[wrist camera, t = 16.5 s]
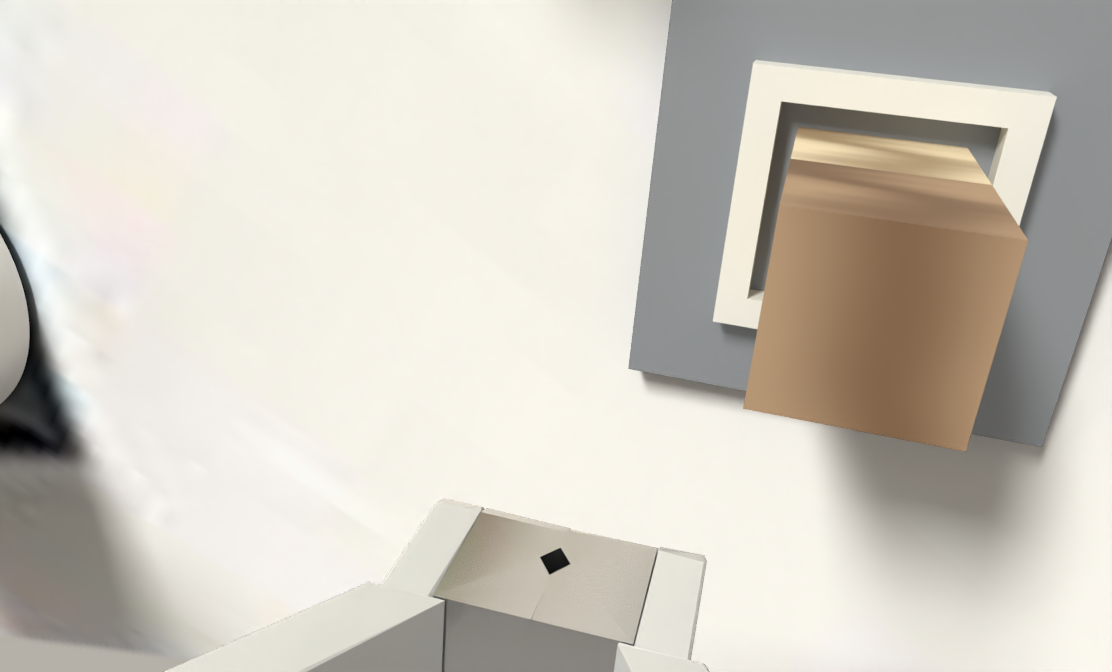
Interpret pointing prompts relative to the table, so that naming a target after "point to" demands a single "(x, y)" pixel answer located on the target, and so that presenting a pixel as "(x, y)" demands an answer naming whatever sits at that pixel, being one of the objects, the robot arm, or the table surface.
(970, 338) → the block stack
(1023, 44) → the slate plate
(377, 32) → the table surface
